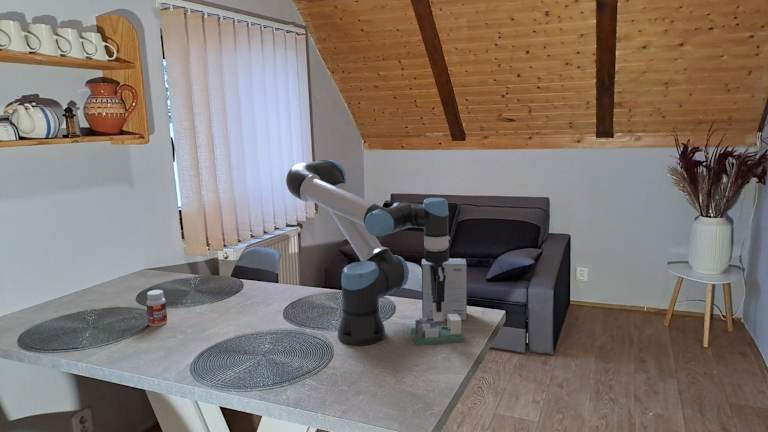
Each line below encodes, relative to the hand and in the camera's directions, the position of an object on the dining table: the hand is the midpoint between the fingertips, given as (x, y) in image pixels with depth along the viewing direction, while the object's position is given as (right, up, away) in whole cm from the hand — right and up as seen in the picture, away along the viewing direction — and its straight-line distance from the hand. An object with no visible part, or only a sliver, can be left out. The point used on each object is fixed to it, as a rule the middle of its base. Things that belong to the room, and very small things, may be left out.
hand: (438, 320), depth 173 cm
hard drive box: (+4, -2, +19) cm, 19 cm away
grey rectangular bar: (-2, -2, 0) cm, 3 cm away
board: (0, -5, +1) cm, 6 cm away
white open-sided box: (+5, -4, +2) cm, 7 cm away
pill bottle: (-95, -4, +16) cm, 97 cm away
